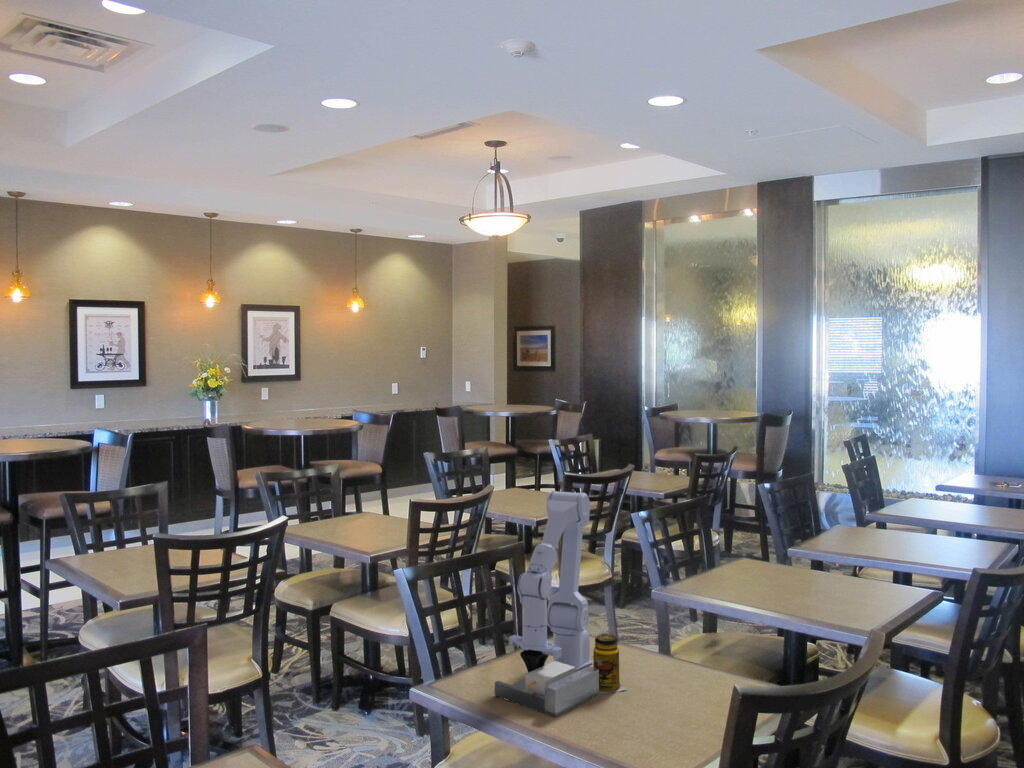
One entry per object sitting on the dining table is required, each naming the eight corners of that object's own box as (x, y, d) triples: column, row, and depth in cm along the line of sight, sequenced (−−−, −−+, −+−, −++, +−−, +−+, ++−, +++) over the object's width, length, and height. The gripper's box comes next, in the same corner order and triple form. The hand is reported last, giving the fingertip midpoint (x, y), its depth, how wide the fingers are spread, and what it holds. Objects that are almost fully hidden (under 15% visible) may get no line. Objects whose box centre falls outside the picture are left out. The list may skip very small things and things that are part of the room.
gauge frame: (539, 676, 204) (539, 651, 204) (598, 695, 192) (598, 669, 192) (494, 696, 192) (494, 670, 192) (555, 717, 180) (554, 690, 180)
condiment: (598, 694, 193) (598, 643, 192) (584, 681, 201) (584, 632, 200) (627, 690, 195) (627, 639, 195) (612, 677, 203) (611, 628, 203)
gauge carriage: (555, 681, 198) (555, 661, 197) (575, 688, 194) (575, 667, 193) (517, 699, 188) (517, 677, 187) (538, 706, 184) (538, 684, 183)
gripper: (500, 621, 196) (500, 678, 196) (547, 634, 186) (548, 694, 187) (519, 614, 201) (520, 670, 202) (567, 626, 192) (567, 685, 192)
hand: (535, 681), depth 195 cm, fingers closed
